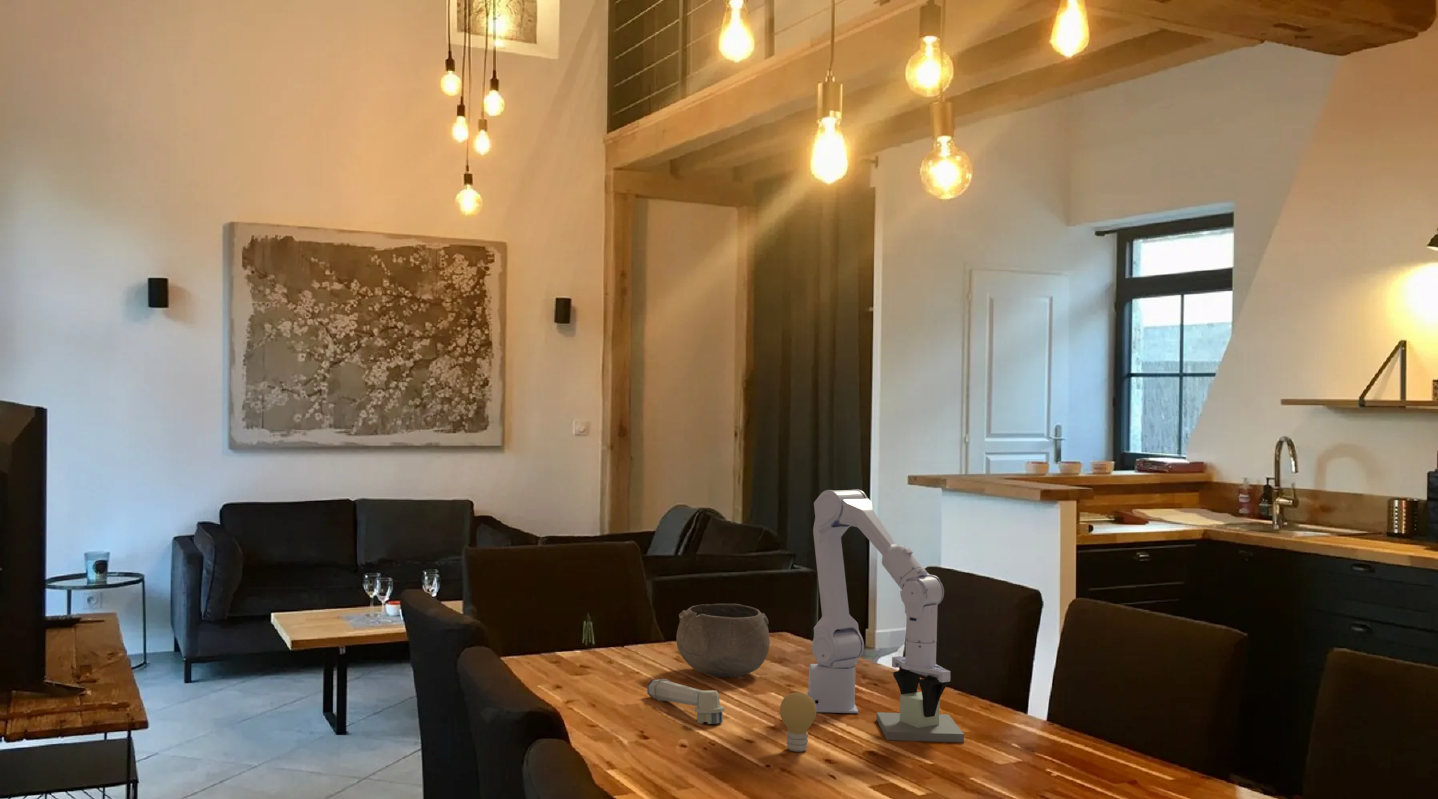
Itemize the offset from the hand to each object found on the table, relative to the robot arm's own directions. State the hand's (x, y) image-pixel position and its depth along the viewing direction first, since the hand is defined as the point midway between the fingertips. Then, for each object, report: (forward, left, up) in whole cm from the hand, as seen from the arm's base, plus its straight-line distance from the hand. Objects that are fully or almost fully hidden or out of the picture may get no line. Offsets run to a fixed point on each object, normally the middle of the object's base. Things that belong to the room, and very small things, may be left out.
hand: (919, 712), depth 216 cm
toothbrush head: (-44, +10, -4) cm, 46 cm away
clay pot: (-37, +43, -4) cm, 57 cm away
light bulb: (-24, -15, -4) cm, 29 cm away
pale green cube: (0, 0, -2) cm, 2 cm away
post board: (0, 0, -3) cm, 3 cm away
